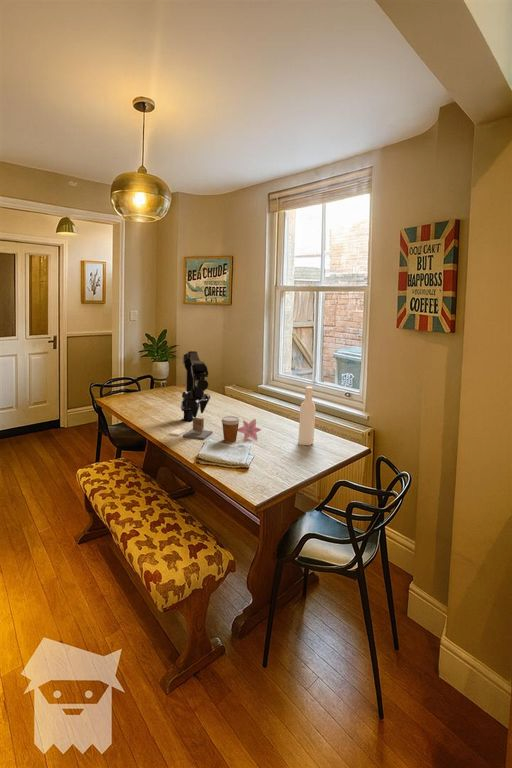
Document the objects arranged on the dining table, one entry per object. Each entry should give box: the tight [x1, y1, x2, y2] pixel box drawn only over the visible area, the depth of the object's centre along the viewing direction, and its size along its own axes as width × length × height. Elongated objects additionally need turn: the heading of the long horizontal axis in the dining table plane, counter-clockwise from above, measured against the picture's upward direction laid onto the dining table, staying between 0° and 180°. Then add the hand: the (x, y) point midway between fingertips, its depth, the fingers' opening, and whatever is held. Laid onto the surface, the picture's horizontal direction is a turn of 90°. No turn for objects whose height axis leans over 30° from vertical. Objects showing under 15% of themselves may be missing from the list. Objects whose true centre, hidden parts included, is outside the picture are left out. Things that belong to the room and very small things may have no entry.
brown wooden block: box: [192, 417, 205, 434], centre depth 226 cm, size 3×5×8 cm, turn 74°
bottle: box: [297, 386, 317, 446], centre depth 218 cm, size 8×8×30 cm
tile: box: [169, 428, 188, 437], centre depth 229 cm, size 2×6×8 cm
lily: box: [237, 418, 262, 442], centre depth 225 cm, size 12×12×10 cm
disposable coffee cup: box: [221, 415, 241, 443], centre depth 219 cm, size 10×10×12 cm
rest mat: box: [182, 428, 214, 440], centre depth 227 cm, size 12×12×1 cm
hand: (198, 415), depth 225 cm, fingers open, 9 cm apart
